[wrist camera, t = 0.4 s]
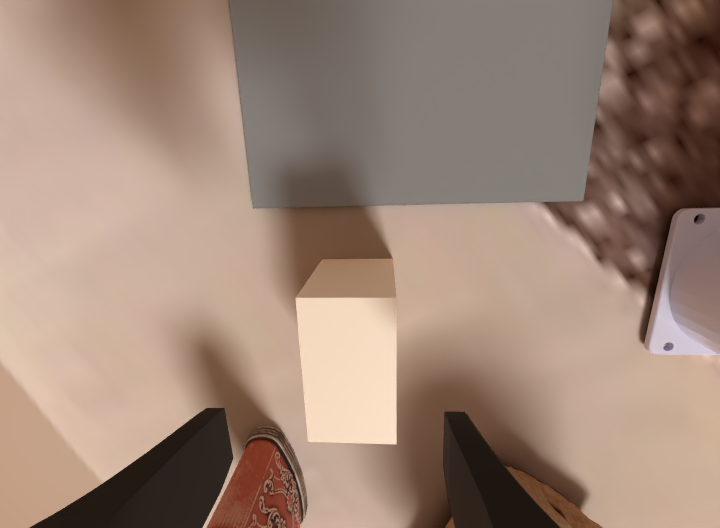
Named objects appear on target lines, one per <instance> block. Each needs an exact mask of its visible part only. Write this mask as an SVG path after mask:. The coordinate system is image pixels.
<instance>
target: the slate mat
mask: <svg viewBox="0 0 720 528" xmlns="http://www.w3.org/2000/svg"><path fill="white" fill-rule="evenodd" d="M612 3H613V0H229V5H230V13H231V22H232V31H233V39H234V48H235V57H236V65H237V74H238V83H239V91H240V100H241V109H242V117H243V126H244V135H245V143H246V152H247V161H248V169H249V178H250V187H251V195H252V204H253V208H292V207H336V206H380V205H424V204H468V203H511V202H555V201H583V199H584V192H585V185H586V179H587V172H588V165H589V158H590V152H591V145H592V138H593V131H594V125H595V118H596V111H597V104H598V98H599V91H600V84H601V78H602V71H603V64H604V57H605V51H606V44H607V37H608V30H609V24H610V17H611V10H612Z"/></svg>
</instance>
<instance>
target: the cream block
mask: <svg viewBox="0 0 720 528" xmlns="http://www.w3.org/2000/svg"><path fill="white" fill-rule="evenodd" d="M296 310H297V321H298V332H299V344H300V355H301V367H302V378H303V390H304V401H305V412H306V424H307V435H308V442H335V443H367V444H396V288H395V277H394V266H393V259H322V260H321V262H320V263H319V264H318V266H317V267H316V269H315V270H314V272H313V273H312V275H311V276H310V278H309V279H308V280H307V282H306V283H305V285H304V286H303V288H302V289H301V291H300V292H299V293H298V295H297V296H296Z"/></svg>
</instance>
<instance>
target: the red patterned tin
mask: <svg viewBox="0 0 720 528" xmlns="http://www.w3.org/2000/svg"><path fill="white" fill-rule="evenodd" d="M307 506H308V505H307V493H306V486H305V482H304V477H303V473H302V470H301V467H300V465H299V462H298V460H297V457H296V455H295V453H294V451H293V449H292V447H291V445H290V444H289V442H288V440H287V438H286V437H285V435H284V434H283V433H282V431H280V430H279V429H277V428H274V427H271V426H262V427H258V428H256V429H254V430H253V431H252V432H251V433H250V435H249V437H248V439H247V441H246V443H245V445H244V453H243V455H242V457H241V459H240V461H239V463H238V465H237V467H236V469H235V472H234V474H233V476H232V478H231V480H230V482H229V484H228V486H227V488H226V490H225V492H224V494H223V496H222V498H221V500H220V502H219V504H218V506H217V508H216V510H215V512H214V514H213V516H212V518H211V520H210V522H209V524H208V526H207V528H300V525H302V523H303V522H304V519H305V515H306V511H307Z"/></svg>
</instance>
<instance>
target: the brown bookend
mask: <svg viewBox="0 0 720 528" xmlns="http://www.w3.org/2000/svg"><path fill="white" fill-rule="evenodd" d="M505 467H506V466H505ZM506 468H507V469H508V470H509V472H510V473H511V474H512V475H513V476H514V478H515V479H516V480H517V481H518V482H519V483H520V485H521V486H522V487H523V488H524V489H525V490H526V491H527V493H528V494H529V495H530V496H531V497H532V498H533V499H534V500H535V502H536V503H537V504H538V505H539V506H540V507H541V508H542V509H543V510H544V511H545V512H546V513H547V514H548V515H549V516H550V517H551V519H552V520H553V521H554V522H555V523H556V524H557V525H558V526H559V527H560V528H602V527H601V526H600V525H598V524H597V523H595V522H593V521H592V520H590V519H589V518H588V517H587V516H586V515H584V514H583V513H582V512H581V511H580V510H579V509H578V508H577V507H576V505H575V504H574V503H571V502H568V501H567V500H566V499H565V498H564V497H563V496H562V495H560V494H559V493H557V492H555V491H554V490H553V489H552V488H551V487H549V486H548V485H546V484H544V483H541V482H538V481H537V480H536V479H535V478H534V477H532V476H530V475H528V474H527V473H525V472H523V471H519V470H515V469H514V468H513V467H506ZM445 528H455V526H454V522H453V518H452V517H451V519H450V520H449V522H448V523H447V525H446V527H445Z"/></svg>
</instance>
